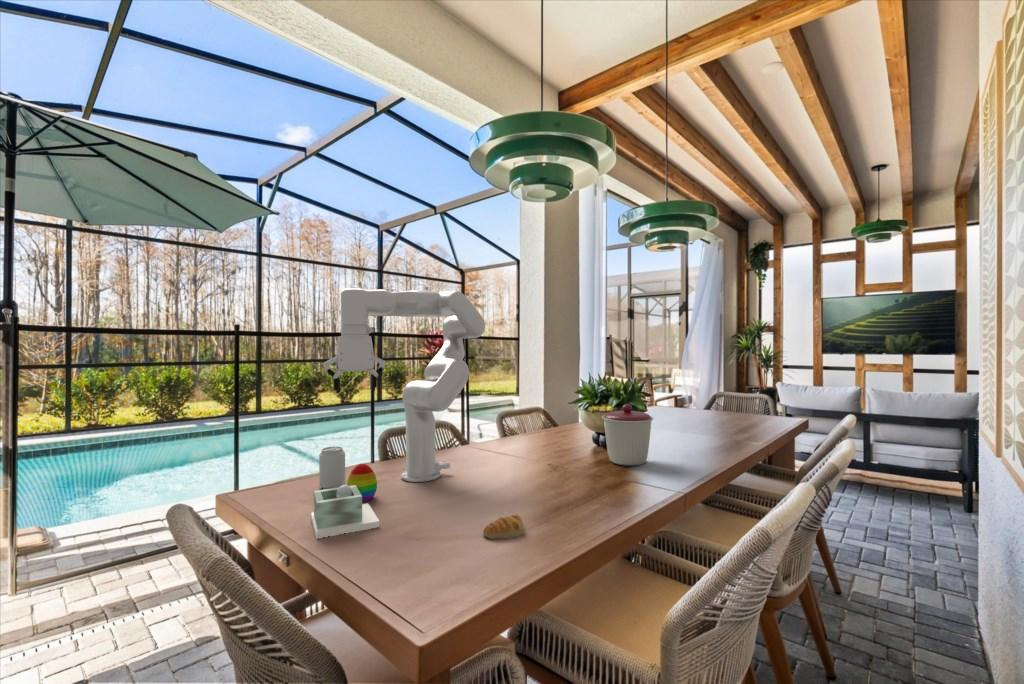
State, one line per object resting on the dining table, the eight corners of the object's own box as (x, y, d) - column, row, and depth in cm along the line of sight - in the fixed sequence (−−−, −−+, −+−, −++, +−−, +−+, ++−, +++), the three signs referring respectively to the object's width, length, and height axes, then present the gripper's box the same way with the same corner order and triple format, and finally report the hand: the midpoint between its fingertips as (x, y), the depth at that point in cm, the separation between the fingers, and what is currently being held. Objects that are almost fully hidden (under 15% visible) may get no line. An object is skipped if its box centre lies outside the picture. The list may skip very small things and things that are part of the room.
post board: (368, 508, 125) (367, 474, 125) (379, 527, 113) (379, 488, 113) (311, 518, 119) (310, 481, 119) (316, 539, 107) (316, 498, 106)
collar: (355, 508, 122) (355, 485, 122) (362, 521, 113) (362, 496, 113) (313, 515, 117) (313, 490, 117) (317, 529, 108) (316, 503, 108)
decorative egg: (373, 503, 130) (373, 467, 130) (343, 504, 129) (342, 468, 129) (379, 494, 138) (379, 459, 138) (351, 494, 137) (351, 460, 137)
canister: (623, 471, 159) (622, 409, 159) (592, 459, 175) (591, 402, 175) (664, 465, 166) (664, 405, 166) (631, 454, 183) (631, 400, 183)
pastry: (491, 544, 103) (491, 527, 103) (477, 534, 109) (477, 517, 109) (527, 535, 108) (527, 518, 108) (512, 525, 114) (512, 510, 114)
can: (313, 489, 143) (313, 449, 143) (331, 482, 150) (331, 444, 150) (333, 492, 140) (332, 451, 140) (350, 484, 147) (350, 446, 147)
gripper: (382, 332, 143) (383, 388, 143) (321, 332, 135) (321, 391, 135) (388, 331, 136) (388, 390, 136) (324, 331, 128) (324, 394, 128)
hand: (355, 391), depth 135 cm, fingers open, 9 cm apart
